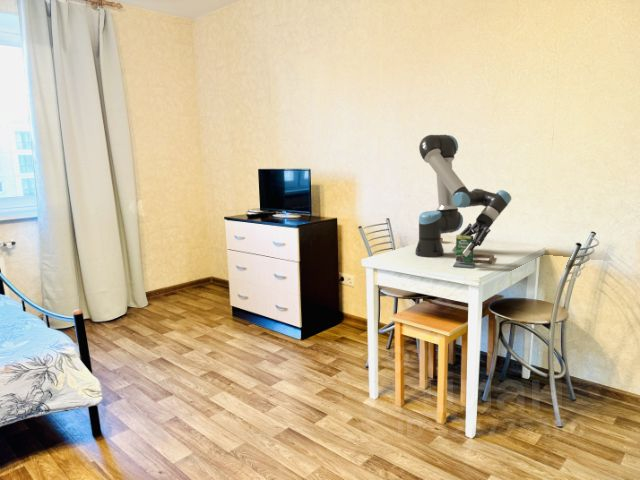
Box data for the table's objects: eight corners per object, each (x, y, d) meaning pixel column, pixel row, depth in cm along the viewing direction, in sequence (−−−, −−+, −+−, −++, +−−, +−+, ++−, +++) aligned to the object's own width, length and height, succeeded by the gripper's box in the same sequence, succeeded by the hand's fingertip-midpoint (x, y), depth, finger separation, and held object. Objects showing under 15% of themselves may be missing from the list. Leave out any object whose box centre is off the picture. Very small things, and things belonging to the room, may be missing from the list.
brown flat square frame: (461, 262, 223) (462, 259, 222) (465, 255, 236) (465, 253, 236) (491, 264, 217) (491, 261, 216) (493, 257, 230) (494, 254, 230)
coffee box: (455, 261, 217) (455, 235, 214) (458, 260, 219) (458, 234, 216) (470, 263, 211) (471, 236, 208) (473, 262, 213) (474, 235, 210)
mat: (453, 267, 213) (453, 265, 213) (455, 263, 221) (456, 261, 221) (472, 268, 209) (472, 266, 209) (474, 264, 217) (474, 262, 217)
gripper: (506, 225, 207) (477, 262, 204) (477, 220, 226) (449, 253, 224) (498, 215, 204) (468, 252, 202) (468, 210, 224) (441, 244, 221)
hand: (458, 253), depth 213 cm, fingers closed on coffee box, 8 cm apart
